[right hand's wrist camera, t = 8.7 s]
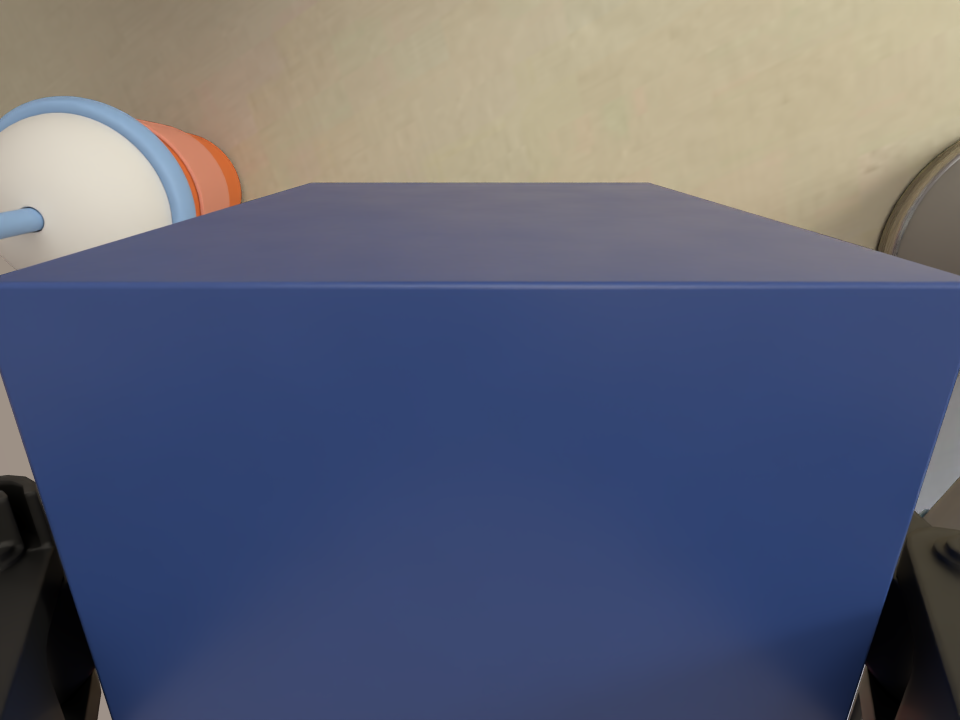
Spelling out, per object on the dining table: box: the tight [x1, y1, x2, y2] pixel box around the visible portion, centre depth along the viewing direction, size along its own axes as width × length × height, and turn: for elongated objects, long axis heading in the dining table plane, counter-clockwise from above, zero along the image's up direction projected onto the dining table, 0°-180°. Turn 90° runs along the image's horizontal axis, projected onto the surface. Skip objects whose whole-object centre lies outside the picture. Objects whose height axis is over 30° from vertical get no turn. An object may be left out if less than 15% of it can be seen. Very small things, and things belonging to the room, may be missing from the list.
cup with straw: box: [0, 96, 241, 270], centre depth 27 cm, size 9×9×18 cm
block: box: [0, 183, 960, 720], centre depth 11 cm, size 9×9×10 cm
